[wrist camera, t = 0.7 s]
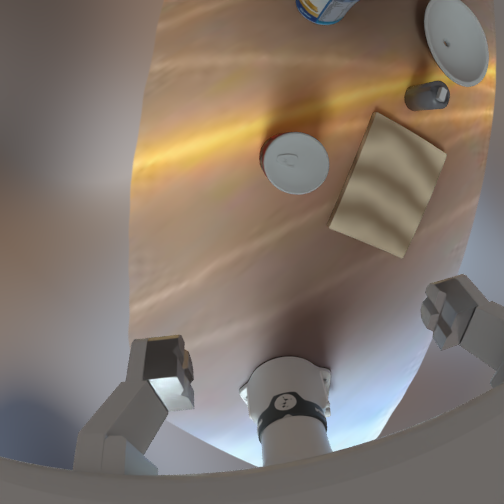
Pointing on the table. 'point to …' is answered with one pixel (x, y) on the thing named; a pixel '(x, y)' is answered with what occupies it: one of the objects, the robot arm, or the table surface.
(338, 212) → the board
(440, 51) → the dish
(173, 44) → the table surface
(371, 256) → the table surface
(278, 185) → the canned food
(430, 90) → the dark grey cylinder
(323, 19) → the beverage bottle
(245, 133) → the table surface
